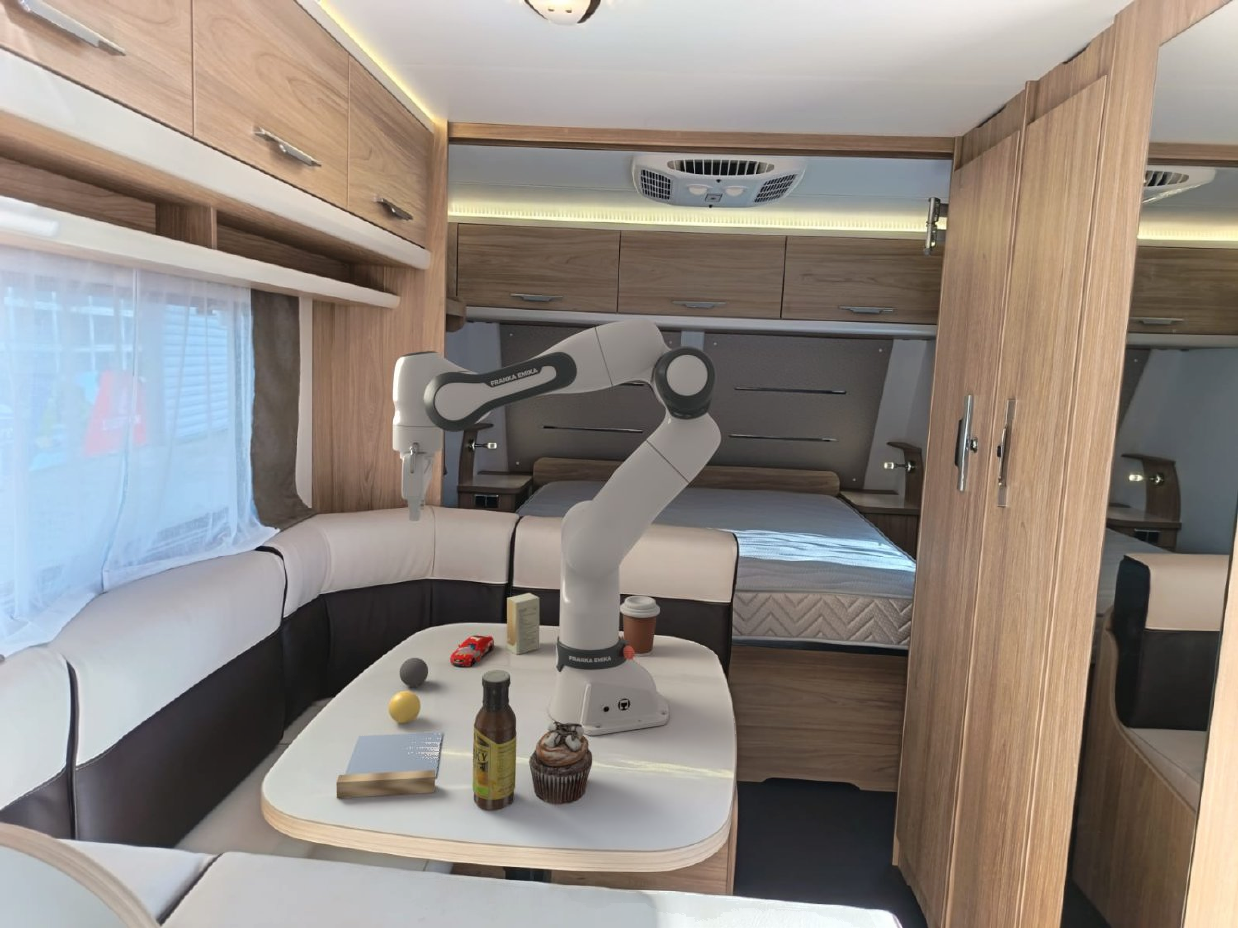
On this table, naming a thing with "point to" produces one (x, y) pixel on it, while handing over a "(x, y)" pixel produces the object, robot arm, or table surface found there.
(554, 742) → the cupcake
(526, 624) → the skincare box
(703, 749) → the table surface
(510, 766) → the sauce bottle
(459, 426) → the robot arm
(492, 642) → the race car
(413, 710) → the ochre ball
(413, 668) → the grey sphere
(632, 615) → the coffee cup
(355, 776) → the rail
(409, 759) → the board
